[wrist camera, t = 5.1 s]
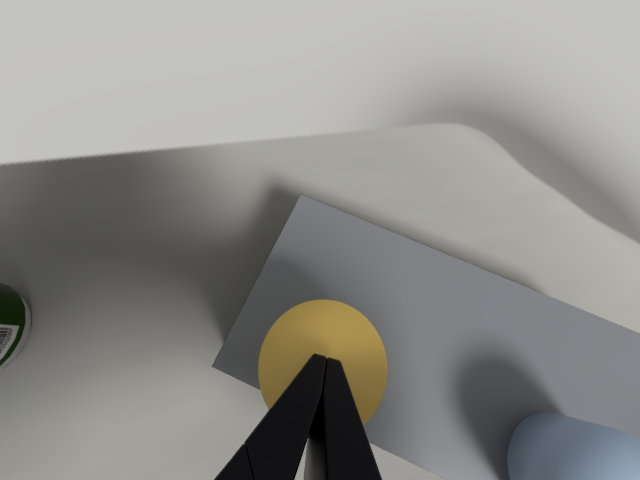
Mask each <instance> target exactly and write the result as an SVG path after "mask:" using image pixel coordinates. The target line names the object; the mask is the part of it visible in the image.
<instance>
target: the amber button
mask: <svg viewBox="0 0 640 480" xmlns="http://www.w3.org/2000/svg"><path fill="white" fill-rule="evenodd" d="M314 353H316V354H320V355H323V356H326V358H328V357H330V358H334V359H337V360H340V361H341V363H342V366H343V369H344V371H345V374H346V377H347V380H348V383H349V386H350V389H351V392H352V395H353V397H354V400H355V403H356V406H357V409H358V412H359V415H360V418H361V421H362V423H363V425H364V424H365V423H366V422H367V421H368V420H369V419H370V418H371V417H372V415H373V414H374V412H375V411H376V410H377V408H378V406H379V404H380V402H381V400H382V397H383V395H384V392H385V388H386V383H387V375H388V367H387V357H386V353H385V349H384V345H383V343H382V340H381V338H380V336H379V334H378V332H377V331H376V329H375V328H374V326H373V325H372V324H371V322H370V321H369V320H368V319H367V318H366V317H365V316H364V315H363V314H362V313H360V312H359V311H357V310H356V309H355V308H353V307H351V306H349V305H347V304H344V303H341V302H338V301H334V300H324V299H322V300H312V301H307V302H304V303H301V304H299V305H297V306H295V307H293V308H291V309H290V310H288V311H287V312H285V313H284V314H283V315H282V316H281V317H280V318H279V319H278V320H277V321H276V322H275V323H274V324H273V326H272V327H271V329H270V330H269V332H268V334H267V335H266V337H265V339H264V342H263V345H262V347H261V351H260V355H259V363H258V377H259V385H260V389H261V393H262V395H263V398H264V401H265V403H266V405H267V406H268V408H269V410H270V409H271V407H272V406H273V405H274V404H275V402H276V401H277V400H278V398H279V397H280V396H281V395H282V393H283V392H284V391H285V389H286V388H287V387H288V385H289V384H290V383H291V382H292V380H293V379H294V378H295V376H296V375H297V374H298V373H299V371H300V370H301V369H302V367H303V366H304V365H305V364H306V362H307V361H308V360H309V358H310V357H311V356H312V355H313V354H314Z"/></svg>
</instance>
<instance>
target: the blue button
mask: <svg viewBox="0 0 640 480" xmlns="http://www.w3.org/2000/svg"><path fill="white" fill-rule="evenodd" d="M507 465H508V473H509V477H510V480H640V439H639V438H638V437H636V436H634V435H632V434H630V433H627V432H624V431H621V430H618V429H614V428H610V427H606V426H603V425H599V424H595V423H591V422H587V421H584V420H580V419H576V418H572V417H568V416H565V415H561V414H557V413H552V412H541V413H536V414H533V415H531V416H528V417H527V418H526V419H524V420H523V421H522V422H521V423H520V424H519V425H518V426H517V427H516V429H515V431H514V432H513V434H512V437H511V439H510V442H509V447H508V455H507Z"/></svg>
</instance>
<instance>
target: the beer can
mask: <svg viewBox="0 0 640 480" xmlns="http://www.w3.org/2000/svg"><path fill="white" fill-rule="evenodd" d="M31 325H32V324H31V311H30V308H29V306H28V304H27V302H26V301H25V300H24V299H23V298H22V297H21V296H20V295H19V294H18V293H17V292H16V291H14V290H13V289H12V288H11V287H10V286H7V285H4V284H1V283H0V369H2V368H3V367H5V366H6V365H7V364H8V363H9V362H10V361H11V360H12V359H13V358H14V357H15V356H16V355H17V354H18V353H19V352H20V350H21V349H22V347H23V345H24V344H25V342H26V340H27V339H28V335H29V332H30V328H31Z"/></svg>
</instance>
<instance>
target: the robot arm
mask: <svg viewBox="0 0 640 480" xmlns="http://www.w3.org/2000/svg"><path fill="white" fill-rule="evenodd" d="M307 439H308V441H307ZM306 442H307V450H306V460H305V470H304V480H382V478H381V475H380V473H379V470H378V467H377V464H376V461H375V458H374V455H373V452H372V449H371V447H370V444H369V441H368V438H367V435H366V432H365V429H364V426H363V423H362V421H361V418H360V415H359V412H358V409H357V406H356V403H355V400H354V397H353V395H352V392H351V389H350V386H349V383H348V380H347V377H346V374H345V371H344V369H343V366H342V363H341V361H340V360H337V359H334V358H330V357H328V358H326V356H323V355H320V354H316V353H314V354H313V355H312V356H311V357H310V358H309V360H308V361H307V362H306V364H305V365H304V366H303V367H302V369H301V370H300V371H299V373H298V374H297V375H296V376H295V378H294V379H293V380H292V382H291V383H290V384H289V385H288V387H287V388H286V389H285V391H284V392H283V393H282V395H281V396H280V397H279V398H278V400H277V401H276V402H275V404H274V405H273V406H272V407H271V409H270V410H269V411H268V413H267V414H266V415H265V416H264V418H263V419H262V420H261V422H260V423H259V424H258V425H257V427H256V428H255V429H254V431H253V432H252V433H251V434H250V436H249V437H248V438H247V440H246V441H245V443H244V444H243V445H242V446H241V447H240V448H239V450H238V451H237V452H236V453H235V455H234V456H233V457H232V459H231V460H230V461H229V462H228V463H227V465H226V466H225V467H224V468H223V469H222V471H221V472H220V473H219V474H218V476H217V477H216V478H215V479H214V480H294V479H295V476H296V473H297V470H298V466H299V463H300V460H301V457H302V454H303V451H304V448H305V445H306Z"/></svg>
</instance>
